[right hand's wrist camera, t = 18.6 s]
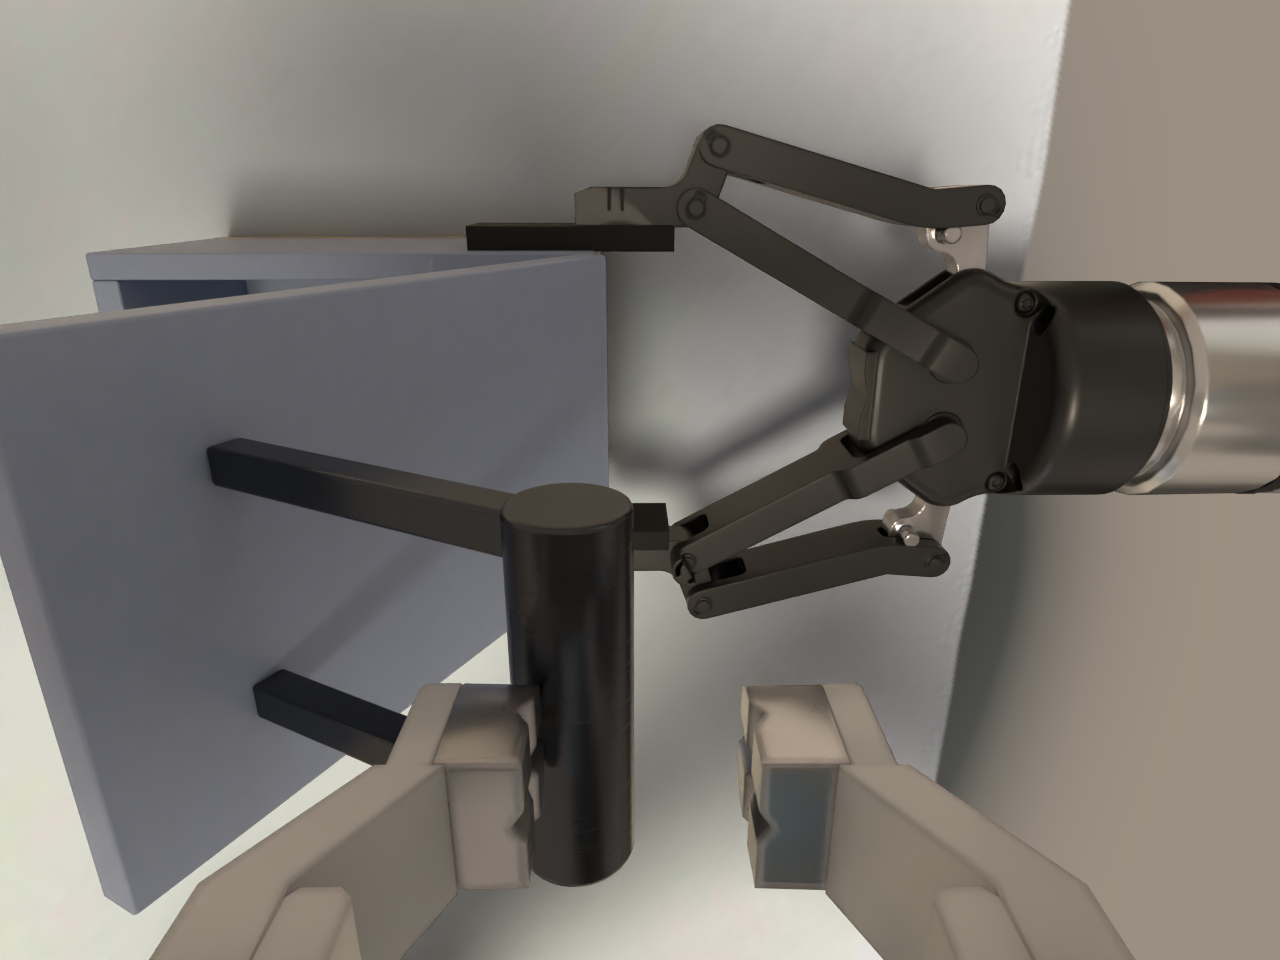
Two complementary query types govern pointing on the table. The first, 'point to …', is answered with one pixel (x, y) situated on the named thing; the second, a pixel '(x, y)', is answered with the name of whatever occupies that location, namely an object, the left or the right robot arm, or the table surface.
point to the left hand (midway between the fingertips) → (484, 391)
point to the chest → (274, 265)
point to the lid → (317, 547)
